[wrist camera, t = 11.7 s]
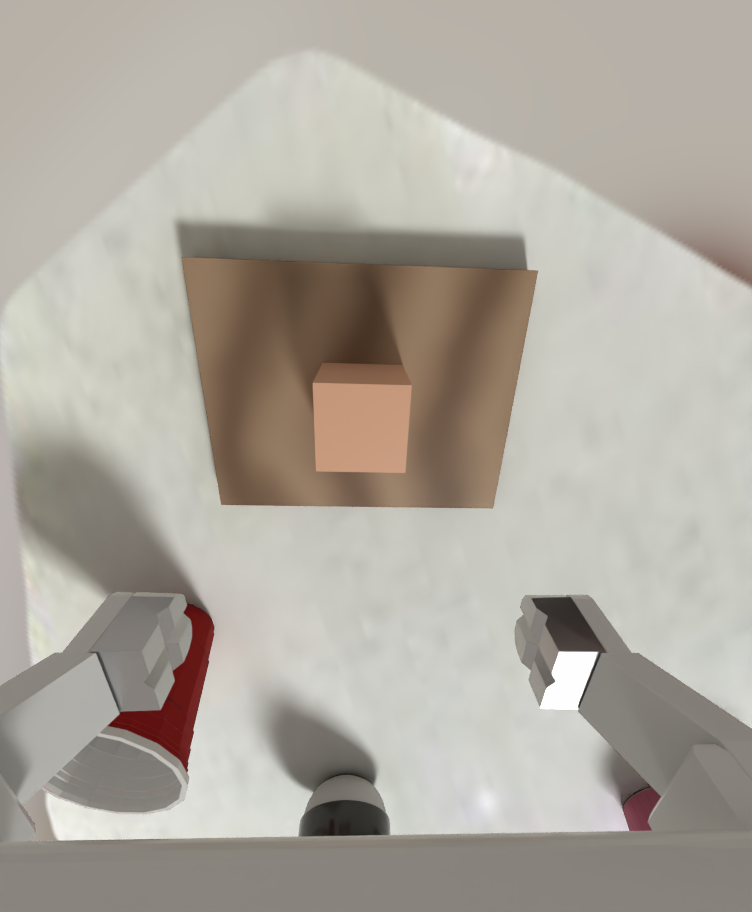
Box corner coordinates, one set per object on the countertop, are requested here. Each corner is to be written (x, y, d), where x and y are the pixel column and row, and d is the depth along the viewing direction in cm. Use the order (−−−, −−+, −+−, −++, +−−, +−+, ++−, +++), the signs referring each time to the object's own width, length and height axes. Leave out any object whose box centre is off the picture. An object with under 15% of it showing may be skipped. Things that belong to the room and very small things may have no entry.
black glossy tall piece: (378, 755, 44) (384, 970, 31) (395, 801, 49) (407, 1007, 35) (293, 768, 45) (261, 985, 31) (317, 812, 49) (299, 1019, 36)
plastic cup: (92, 619, 34) (-35, 778, 23) (174, 559, 32) (75, 707, 21) (186, 681, 38) (115, 842, 27) (266, 632, 36) (222, 789, 25)
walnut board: (528, 270, 23) (538, 270, 22) (487, 497, 30) (492, 508, 29) (192, 258, 23) (181, 257, 21) (227, 494, 29) (221, 504, 28)
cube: (402, 364, 24) (411, 385, 19) (398, 439, 26) (405, 472, 22) (322, 362, 24) (312, 382, 19) (324, 437, 26) (316, 471, 21)
